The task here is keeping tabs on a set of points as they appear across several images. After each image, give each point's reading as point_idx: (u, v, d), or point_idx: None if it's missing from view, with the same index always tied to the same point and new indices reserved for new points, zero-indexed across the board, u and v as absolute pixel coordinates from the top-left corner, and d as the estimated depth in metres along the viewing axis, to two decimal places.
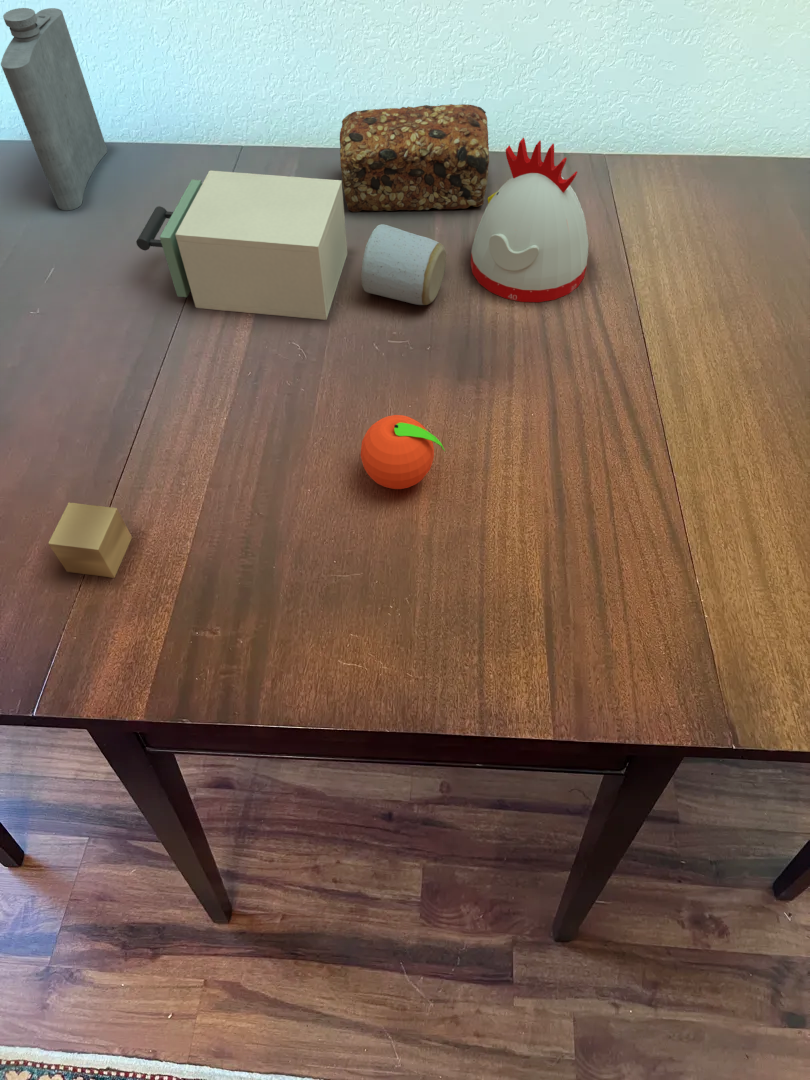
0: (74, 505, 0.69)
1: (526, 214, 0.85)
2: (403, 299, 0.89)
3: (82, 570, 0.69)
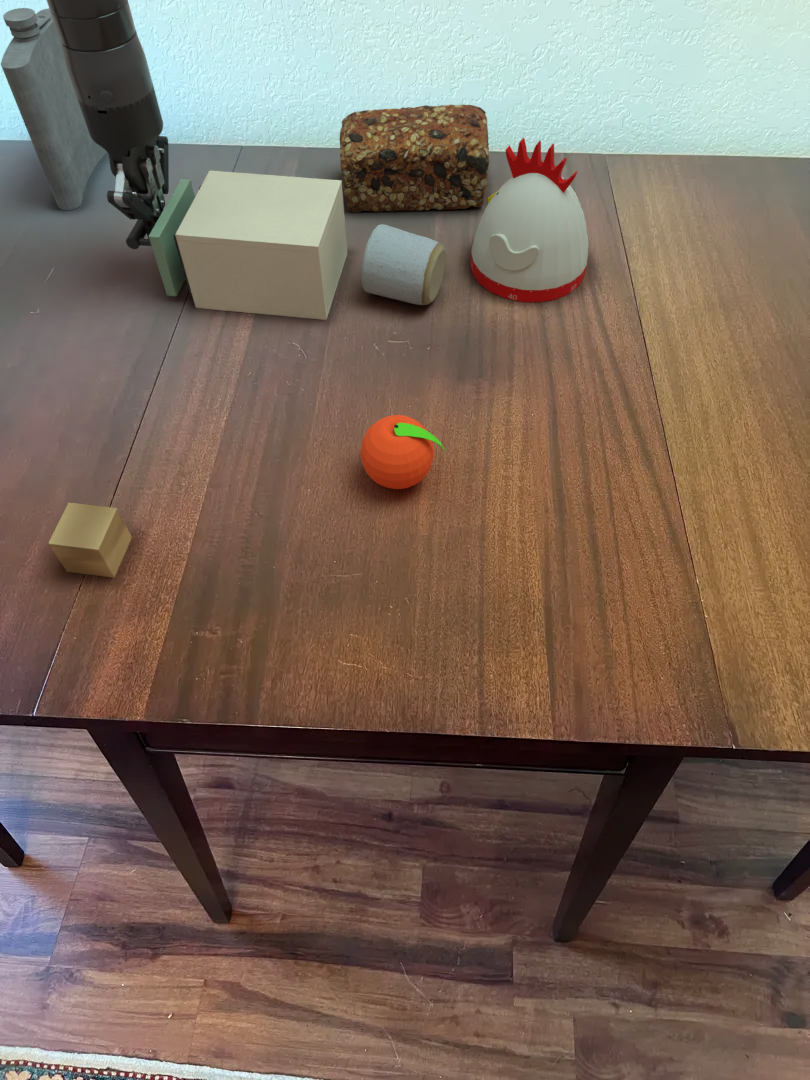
0: (74, 505, 0.69)
1: (526, 214, 0.85)
2: (403, 299, 0.89)
3: (82, 570, 0.69)
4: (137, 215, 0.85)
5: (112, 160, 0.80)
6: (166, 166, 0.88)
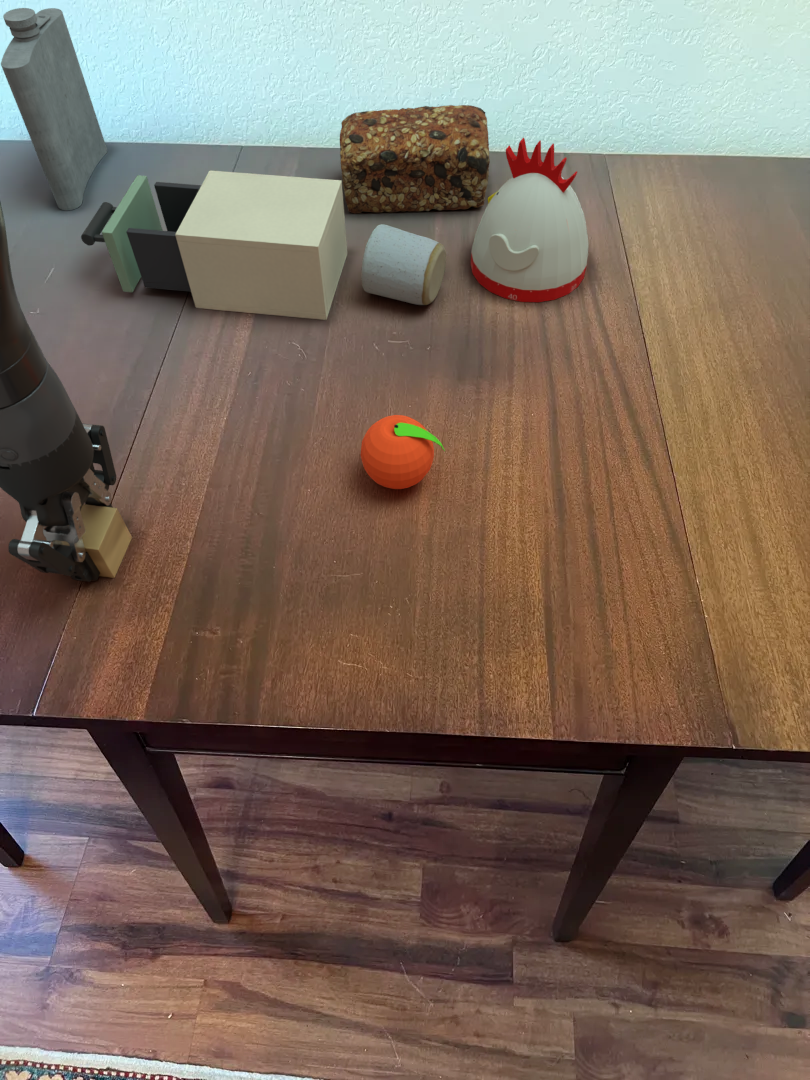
0: None
1: (526, 214, 0.85)
2: (403, 299, 0.89)
3: None
4: (52, 571, 0.64)
5: (23, 508, 0.59)
6: (108, 456, 0.68)
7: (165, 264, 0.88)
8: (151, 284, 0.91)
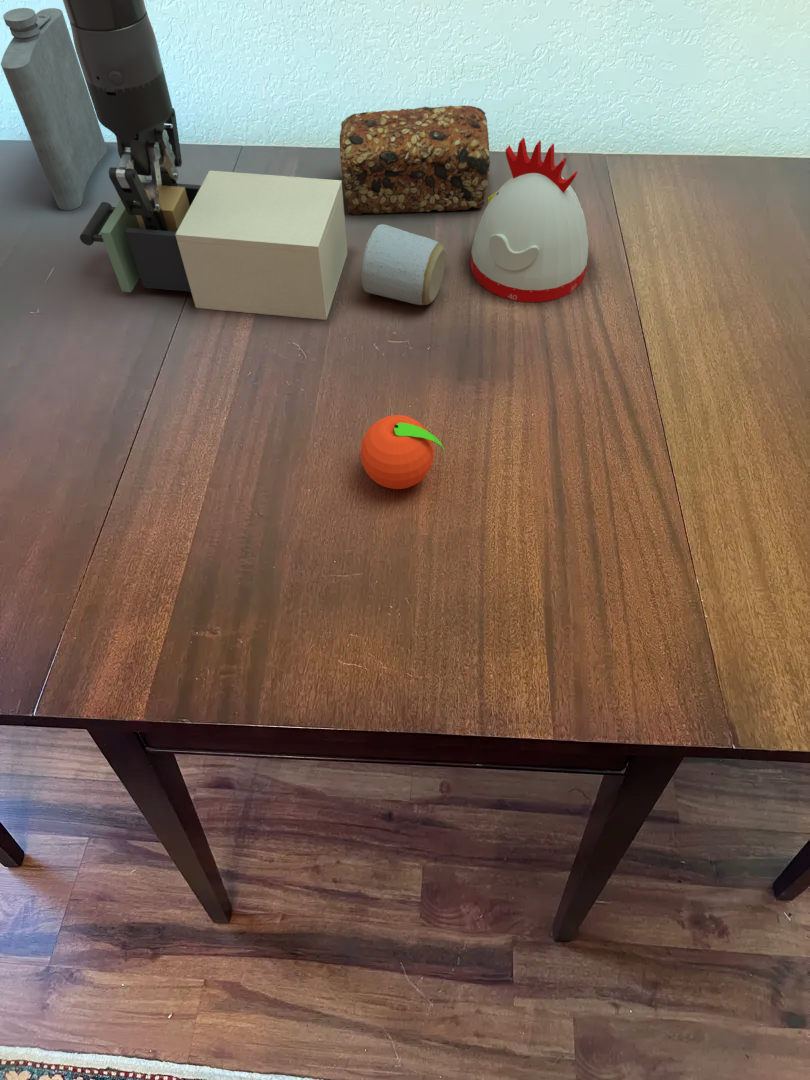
0: None
1: (526, 214, 0.85)
2: (403, 299, 0.89)
3: None
4: (136, 211, 0.82)
5: (120, 144, 0.78)
6: (176, 138, 0.87)
7: (164, 263, 0.88)
8: (149, 283, 0.91)
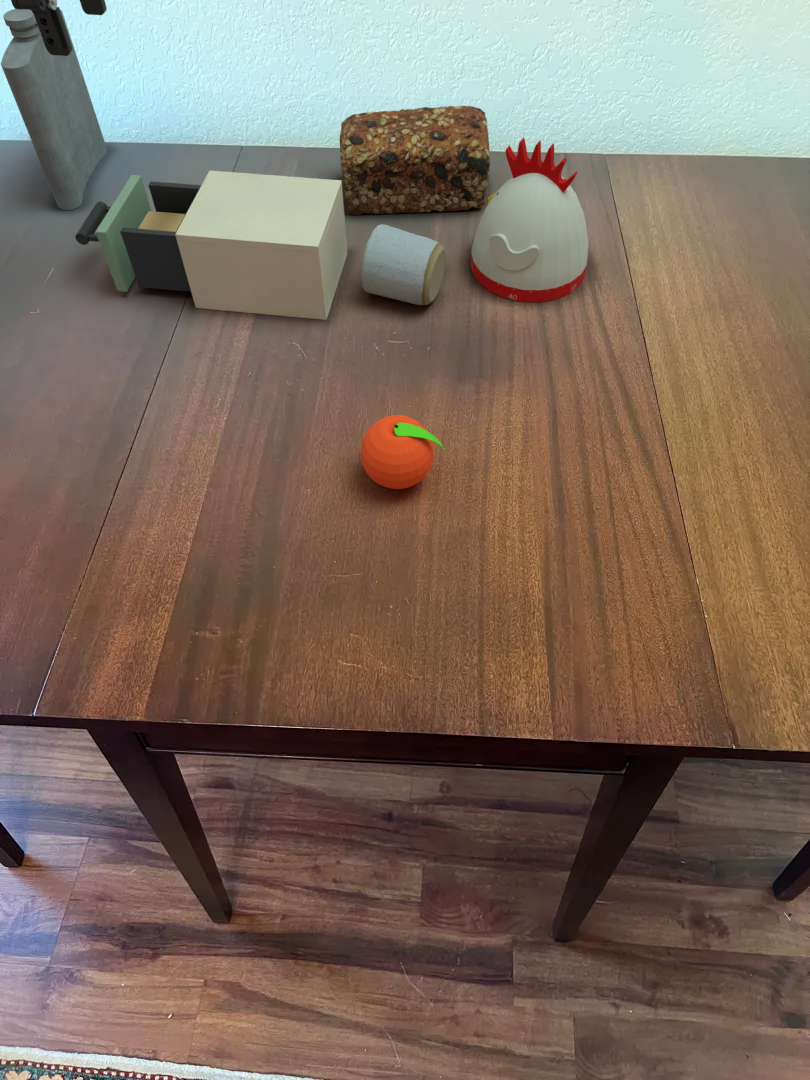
0: (153, 212, 0.91)
1: (526, 214, 0.85)
2: (403, 299, 0.89)
3: None
4: (23, 1, 0.65)
5: None
6: None
7: (159, 263, 0.88)
8: (145, 283, 0.91)
